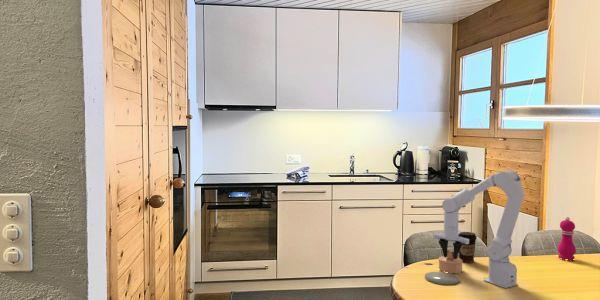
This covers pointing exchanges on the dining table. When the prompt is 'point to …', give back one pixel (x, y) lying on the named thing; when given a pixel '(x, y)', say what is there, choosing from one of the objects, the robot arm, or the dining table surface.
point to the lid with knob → (450, 263)
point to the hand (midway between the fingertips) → (450, 257)
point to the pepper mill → (567, 240)
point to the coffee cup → (467, 247)
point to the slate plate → (442, 278)
